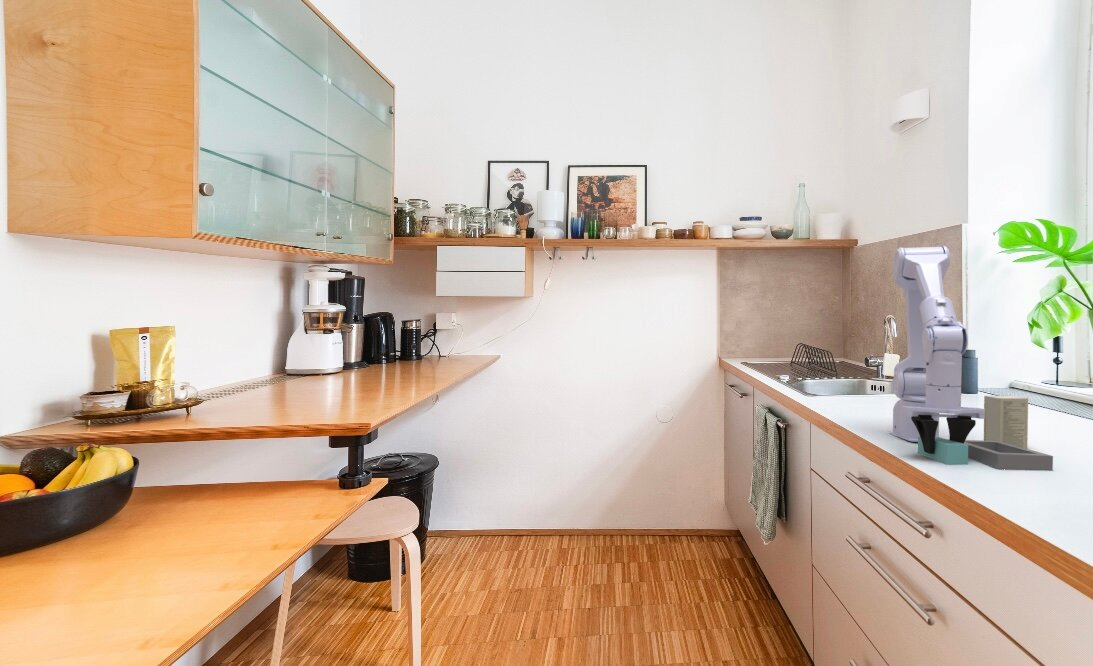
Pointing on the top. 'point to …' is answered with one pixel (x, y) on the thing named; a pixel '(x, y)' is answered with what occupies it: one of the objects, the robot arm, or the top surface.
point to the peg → (947, 451)
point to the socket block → (1008, 456)
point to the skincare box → (1006, 420)
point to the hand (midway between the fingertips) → (941, 453)
